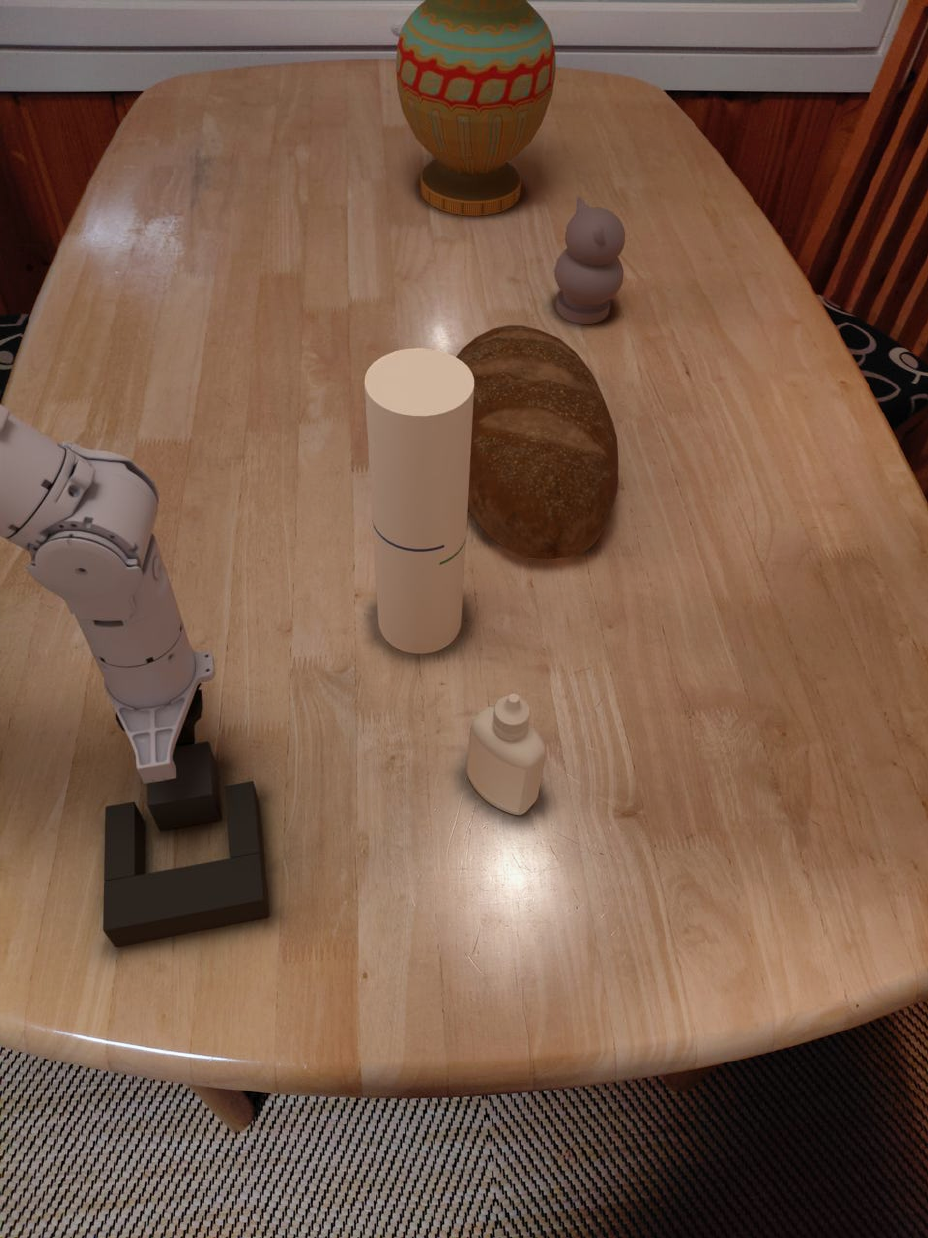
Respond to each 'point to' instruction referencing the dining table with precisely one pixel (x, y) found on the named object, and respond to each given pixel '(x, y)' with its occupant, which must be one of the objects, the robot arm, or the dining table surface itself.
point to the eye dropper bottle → (506, 755)
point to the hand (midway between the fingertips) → (179, 744)
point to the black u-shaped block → (183, 877)
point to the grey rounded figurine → (589, 265)
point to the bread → (538, 444)
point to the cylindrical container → (419, 493)
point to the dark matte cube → (187, 790)
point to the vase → (474, 96)
